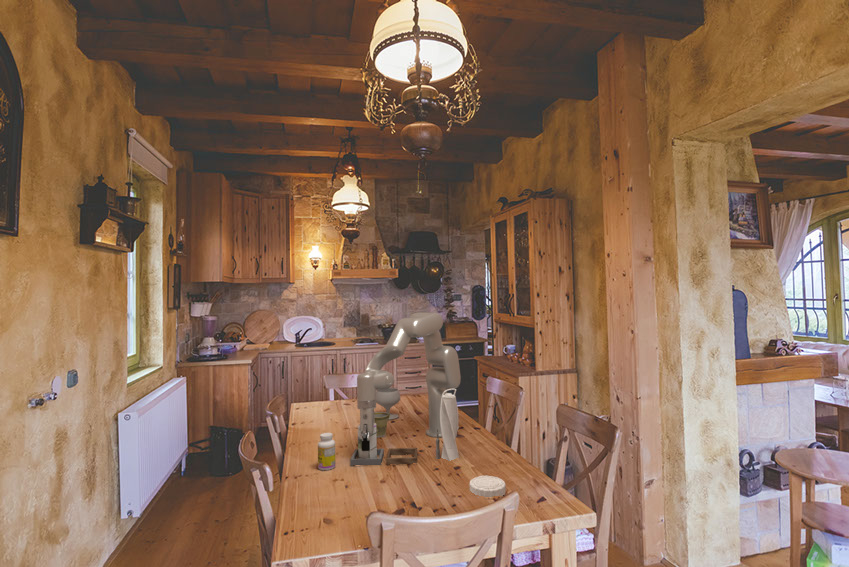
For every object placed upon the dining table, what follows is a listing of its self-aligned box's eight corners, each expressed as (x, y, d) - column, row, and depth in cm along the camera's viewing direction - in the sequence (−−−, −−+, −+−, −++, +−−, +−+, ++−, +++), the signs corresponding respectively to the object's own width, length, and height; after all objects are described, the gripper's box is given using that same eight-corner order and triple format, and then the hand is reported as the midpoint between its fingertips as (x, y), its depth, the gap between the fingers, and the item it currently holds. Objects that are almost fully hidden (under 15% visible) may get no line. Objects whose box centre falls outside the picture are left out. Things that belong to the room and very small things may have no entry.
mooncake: (481, 503, 139) (481, 491, 139) (463, 488, 150) (462, 478, 150) (513, 495, 144) (512, 484, 144) (493, 482, 155) (492, 471, 155)
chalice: (399, 420, 235) (399, 392, 235) (373, 421, 235) (373, 392, 235) (401, 413, 249) (401, 387, 249) (376, 414, 249) (376, 387, 249)
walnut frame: (417, 453, 184) (417, 447, 184) (416, 464, 172) (416, 458, 172) (388, 454, 184) (388, 448, 184) (386, 465, 172) (386, 458, 172)
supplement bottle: (316, 466, 172) (316, 433, 173) (333, 463, 175) (333, 430, 175) (319, 472, 166) (319, 438, 167) (337, 469, 169) (336, 435, 169)
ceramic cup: (379, 440, 202) (378, 418, 203) (363, 436, 209) (363, 415, 209) (397, 433, 213) (397, 412, 213) (382, 429, 219) (381, 409, 219)
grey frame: (383, 454, 184) (383, 448, 184) (381, 465, 172) (381, 459, 172) (355, 455, 184) (355, 449, 184) (350, 466, 172) (350, 459, 172)
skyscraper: (449, 454, 183) (447, 387, 184) (464, 459, 177) (462, 389, 178) (434, 460, 177) (433, 390, 178) (449, 465, 171) (448, 393, 172)
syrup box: (377, 458, 179) (376, 422, 180) (369, 463, 174) (369, 426, 174) (365, 456, 182) (365, 421, 182) (357, 461, 176) (357, 425, 177)
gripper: (373, 409, 170) (374, 453, 169) (378, 398, 187) (378, 439, 186) (354, 409, 170) (354, 454, 169) (360, 399, 187) (361, 440, 186)
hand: (367, 446), depth 178 cm, fingers open, 9 cm apart
